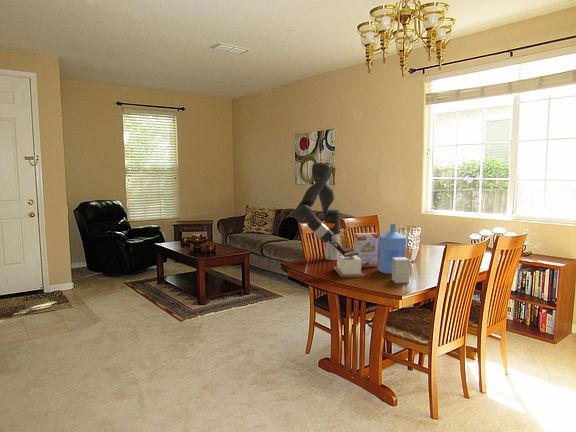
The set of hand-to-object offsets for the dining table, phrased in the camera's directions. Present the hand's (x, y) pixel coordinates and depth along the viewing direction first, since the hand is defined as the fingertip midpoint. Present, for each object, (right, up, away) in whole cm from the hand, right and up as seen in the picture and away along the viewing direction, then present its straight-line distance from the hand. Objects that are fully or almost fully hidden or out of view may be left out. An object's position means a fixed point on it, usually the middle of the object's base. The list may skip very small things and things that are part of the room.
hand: (344, 253), depth 238 cm
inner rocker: (+3, 0, +11) cm, 12 cm away
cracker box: (+16, -10, +22) cm, 29 cm away
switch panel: (+3, -12, +7) cm, 14 cm away
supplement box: (+28, -14, -13) cm, 34 cm away
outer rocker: (+4, -2, 0) cm, 4 cm away
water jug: (+29, -12, +9) cm, 33 cm away
